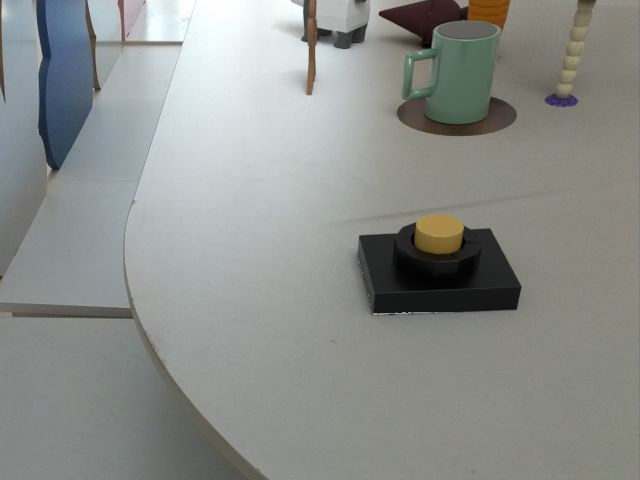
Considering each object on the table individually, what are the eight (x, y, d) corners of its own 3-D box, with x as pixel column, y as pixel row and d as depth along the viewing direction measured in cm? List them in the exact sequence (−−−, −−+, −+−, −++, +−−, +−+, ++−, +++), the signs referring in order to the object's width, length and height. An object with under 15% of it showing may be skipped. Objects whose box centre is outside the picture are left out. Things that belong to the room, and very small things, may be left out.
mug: (472, 97, 91) (484, 16, 86) (498, 119, 86) (513, 34, 81) (389, 109, 91) (395, 28, 86) (410, 131, 86) (419, 47, 80)
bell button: (455, 231, 64) (458, 212, 63) (465, 254, 61) (469, 235, 60) (410, 234, 65) (412, 215, 64) (418, 257, 62) (421, 238, 61)
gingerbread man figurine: (299, 82, 104) (300, -15, 97) (329, 81, 103) (332, -16, 96) (292, 107, 97) (293, 6, 90) (324, 107, 96) (327, 4, 89)
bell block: (486, 250, 68) (493, 209, 66) (516, 310, 61) (526, 266, 59) (357, 256, 69) (360, 216, 67) (372, 316, 62) (376, 273, 60)
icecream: (373, 3, 107) (487, 17, 102) (388, -25, 111) (499, -13, 106) (369, 49, 113) (477, 65, 107) (383, 21, 116) (488, 34, 111)
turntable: (497, 98, 94) (499, 88, 93) (531, 142, 84) (533, 132, 83) (386, 105, 95) (387, 96, 94) (406, 150, 85) (407, 140, 84)
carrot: (494, 76, 99) (515, -54, 90) (454, 72, 102) (470, -55, 92) (504, 63, 102) (525, -64, 93) (465, 60, 105) (482, -65, 96)
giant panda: (373, 40, 114) (378, -31, 108) (350, 51, 112) (353, -21, 106) (295, 25, 123) (296, -41, 118) (272, 35, 121) (271, -32, 115)
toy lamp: (588, 107, 89) (627, -54, 79) (579, 123, 86) (619, -43, 76) (544, 102, 92) (576, -55, 81) (533, 117, 89) (565, -45, 78)
